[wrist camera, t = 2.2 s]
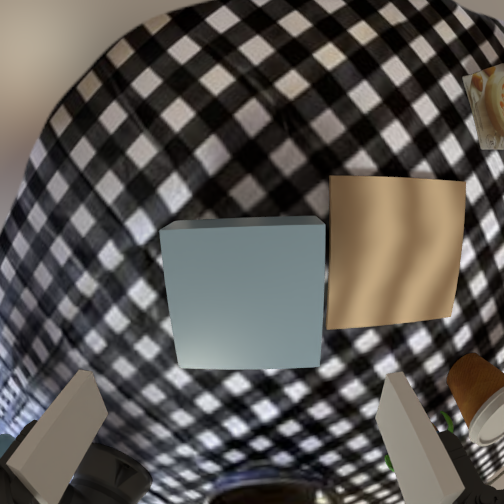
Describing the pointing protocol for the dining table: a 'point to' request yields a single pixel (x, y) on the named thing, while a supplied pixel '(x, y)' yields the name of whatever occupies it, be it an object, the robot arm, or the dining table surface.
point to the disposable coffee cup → (479, 397)
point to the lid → (245, 291)
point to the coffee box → (487, 105)
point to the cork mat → (393, 249)
